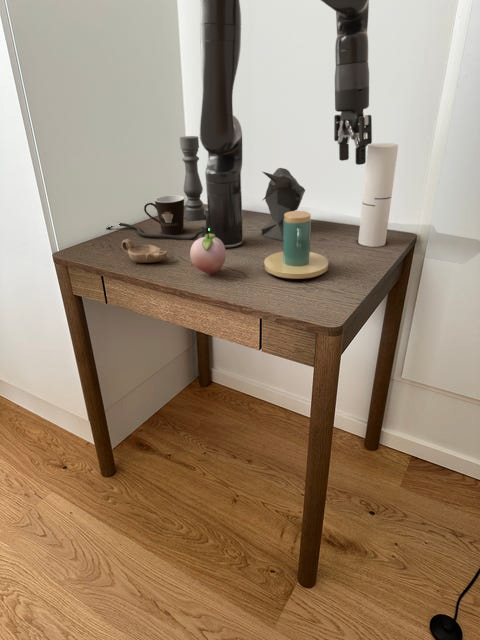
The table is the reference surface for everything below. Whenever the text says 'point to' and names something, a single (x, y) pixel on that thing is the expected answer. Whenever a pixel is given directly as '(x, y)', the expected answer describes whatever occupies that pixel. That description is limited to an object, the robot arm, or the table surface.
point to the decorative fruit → (208, 253)
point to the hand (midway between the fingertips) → (352, 162)
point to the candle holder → (192, 178)
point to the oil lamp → (143, 252)
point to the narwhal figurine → (281, 200)
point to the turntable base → (295, 279)
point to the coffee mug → (169, 213)
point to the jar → (296, 250)
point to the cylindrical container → (377, 193)
